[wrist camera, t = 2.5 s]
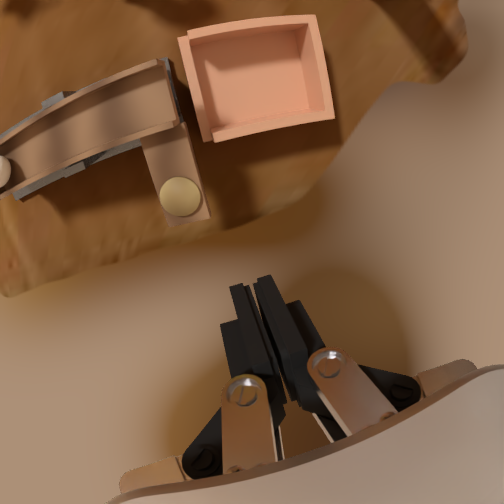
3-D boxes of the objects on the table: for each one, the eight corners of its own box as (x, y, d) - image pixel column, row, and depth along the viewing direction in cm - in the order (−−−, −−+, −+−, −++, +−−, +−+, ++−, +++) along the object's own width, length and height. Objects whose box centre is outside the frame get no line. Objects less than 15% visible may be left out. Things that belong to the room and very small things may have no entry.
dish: (298, 24, 26) (315, 14, 22) (316, 114, 33) (334, 118, 28) (178, 42, 25) (176, 33, 21) (202, 139, 32) (204, 145, 27)
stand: (167, 57, 26) (162, 46, 20) (186, 130, 31) (185, 138, 24) (-3, 138, 24) (-36, 150, 18) (18, 198, 29) (-10, 222, 23)
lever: (170, 59, 20) (158, 55, 17) (211, 213, 27) (207, 231, 24) (-7, 148, 21) (-26, 158, 18) (38, 257, 29) (24, 273, 26)
